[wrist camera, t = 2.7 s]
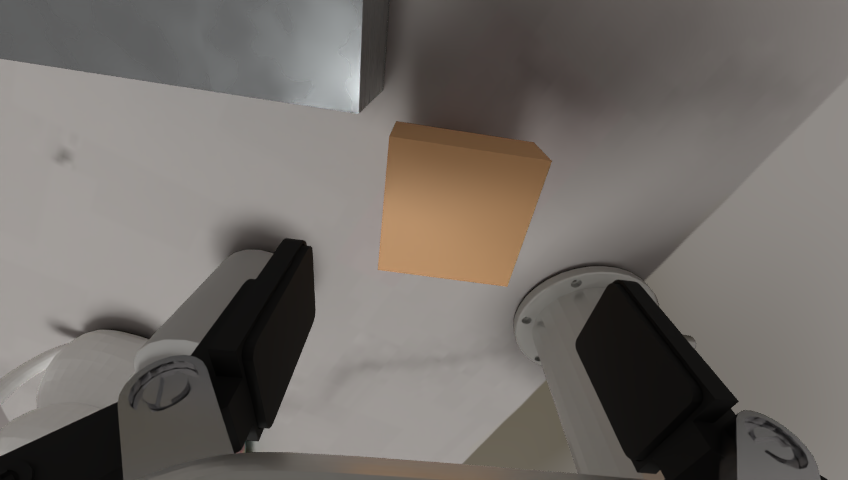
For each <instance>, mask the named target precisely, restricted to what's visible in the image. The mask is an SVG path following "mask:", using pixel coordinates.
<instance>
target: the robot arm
mask: <svg viewBox="0 0 848 480" xmlns="http://www.w3.org/2000/svg"><path fill="white" fill-rule="evenodd" d="M314 318H315V293H314V272H313V252H312V247H311V246H307V245H306V242H305V241H303V240H295V239H287V238H286V239H284V240H283V241H282V242H281V244H280V245H279V247H278V248H277V250H276V251H275V252H274V254H273V255H272V257H271V258H270V260H269V261H268V262H267V264H266V265H265V267H264V268H263V270H262V271H261V272H260V274H259V275H258V277H257V278H256V279H248V280H247V281H246V282H245V283H244V284H243V285H242V286H241V288H240V289H239V290H238V292H237V293H236V294H235V296H234V297H233V299H232V300H231V301H230V303H229V304H228V305H227V307H226V308H225V309H224V311H223V312H222V313H221V315H220V316H219V317H218V319H217V320H216V322H215V323H214V324H213V326H212V327H211V328H210V330H209V331H208V332H207V334H206V335H205V336H204V338H203V339H202V340H201V342H200V343H199V345H198V346H197V347H196V349H195V350H194V351H193V353H192V354H191V355H190V356H188V355H177V356H170V357H167V358H163V359H160V360H158V361H156V362H153V363H151V364H149V365H147V366H146V367H144V368H143V369H141V370H140V371H138V372H137V373H136V374H134V375H133V377H132V378H131V379H130V380H129V381H128V382H127V383H126V384H125V385H124V387H123V389H122V391H121V392H120V394H119V399H118V402H116V403H114V404H112V405H110V406H107V407H105V408H103V409H101V410H99V411H97V412H94V413H92V414H90V415H88V416H86V417H84V418H82V419H79V420H77V421H75V422H73V423H71V424H69V425H66V426H64V427H62V428H60V429H58V430H56V431H53V432H51V433H49V434H47V435H45V436H43V437H41V438H38V439H36V440H34V441H32V442H30V443H28V444H25V445H23V446H21V447H19V448H17V449H15V450H13V451H10V452H8V453H6V454H4V455H2V456H0V480H827V479H826V478H824V477H822V476H821V475H819V470H818V466H817V463H816V461H815V459H814V456H813V455H812V454H811V452H810V451H809V450H808V448H807V447H806V446H805V445H804V444H803V443H802V442H801V441H800V440H799V439H798V437H797V436H795V435H794V434H793V433H792V432H790V431H789V430H788V429H787V428H786V427H784V426H783V425H781V424H779V423H778V422H776V421H775V420H773V419H771V418H769V417H767V416H765V415H763V414H761V413H758V412H754V411H747V410H746V411H745V410H743V411H741V412H739V413H738V414H737V415H735V413H734V412H733V411H732V410H731V408H732V407H733V406H734V405H735V404H736V403H737V402H738V400H737V399H736V398H735V397H734V395H733V394H732V393H731V392H730V391H729V389H728V388H727V387H726V386H725V385H724V384H723V383H722V381H721V380H720V379H719V378H718V376H717V375H716V374H715V373H714V372H713V370H712V369H711V368H710V367H709V366H708V364H707V363H706V362H705V361H704V360H703V359H702V357H701V356H700V355H699V354H698V353H697V351H696V350H695V347H696V342H695V340H694V338H693V337H691V336H687V335H682V334H681V333H680V331H679V330H678V329H677V328H676V327H675V326H674V324H673V323H672V322H671V321H670V320H669V318H668V317H667V316H666V315H665V314H664V312H663V311H662V310H661V309H660V308H659V303H658V301H657V298H656V295H655V294H654V293H653V291H652V290H651V289H650V287H649V286H648V285H647V284H646V283H645V282H644V281H643V280H642V279H641V278H640V277H638V276H636V275H634V274H633V273H631V272H629V271H626V270H623V269H620V268H615V267H607V266H589V267H583V268H577V269H573V270H570V271H567V272H563V273H560V274H558V275H556V276H554V277H552V278H550V279H548V280H546V281H545V282H543V283H542V284H540V285H539V286H537V287H536V288H535V289H533V290H532V291H531V292H530V293H529V294H528V295H527V296H526V297H525V299H524V300H523V301H522V303H521V304H520V305H519V308H518V310H517V312H516V314H515V318H514V323H513V327H514V335H515V338H516V342H517V345H518V346H519V348H520V350H521V352H522V353H523V354H524V355H525V356H526V357H527V358H528V359H530V360H531V361H532V362H534V363H536V364H538V365H540V366H542V367H543V370H544V373H545V376H546V379H547V382H548V385H549V388H550V391H551V394H552V397H553V400H554V403H555V406H556V409H557V412H558V415H559V418H560V421H561V424H562V427H563V430H564V433H565V436H566V439H567V442H568V445H569V448H570V451H571V454H572V457H573V460H574V463H575V466H576V469H577V472H578V474H576V473H564V472H551V471H540V470H526V469H515V468H502V467H490V466H478V465H465V464H452V463H439V462H426V461H413V460H400V459H386V458H373V457H360V456H343V455H325V454H308V453H290V452H249V453H238V452H239V451H241V450H242V448H243V446H244V444H245V441H246V440H248V441H259V439H260V437H261V434H262V432H263V429H264V428H270V427H271V426H272V424H273V422H274V420H275V417H276V415H277V412H278V410H279V407H280V405H281V402H282V400H283V397H284V395H285V392H286V390H287V387H288V385H289V382H290V380H291V377H292V374H293V372H294V369H295V367H296V364H297V362H298V359H299V357H300V354H301V352H302V349H303V347H304V344H305V342H306V339H307V337H308V334H309V332H310V329H311V327H312V324H313V321H314ZM236 453H237V454H236Z"/></svg>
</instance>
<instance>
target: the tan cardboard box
mask: <svg viewBox="0 0 848 480" xmlns="http://www.w3.org/2000/svg"><path fill="white" fill-rule="evenodd" d="M551 162H552V161H551V160H550V159H549V158H548V157H547V155H546V154H545V153H544V152H543V151H542V150H541V149H540V148H539V147H538V146H537V145H536V144H535V143H534V142H528V141H521V140H515V139H508V138H502V137H495V136H489V135H482V134H476V133H469V132H463V131H456V130H450V129H443V128H437V127H430V126H424V125H418V124H411V123H405V122H398V121H396V123H395V125H394V128H393V130H392V132H391V134H390V136H389V147H388V158H387V170H386V181H385V193H384V205H383V216H382V228H381V240H380V251H379V263H378V270H383V271H391V272H399V273H406V274H414V275H422V276H429V277H437V278H445V279H452V280H460V281H468V282H475V283H483V284H491V285H499V286H506V287H507V286H508V283H509V280H510V277H511V275H512V272H513V269H514V266H515V263H516V260H517V258H518V255H519V252H520V249H521V246H522V244H523V241H524V238H525V235H526V232H527V230H528V227H529V224H530V221H531V218H532V216H533V213H534V210H535V207H536V204H537V202H538V199H539V196H540V193H541V190H542V187H543V185H544V182H545V179H546V176H547V173H548V171H549V168H550V165H551Z"/></svg>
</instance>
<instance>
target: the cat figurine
mask: <svg viewBox="0 0 848 480" xmlns="http://www.w3.org/2000/svg"><path fill="white" fill-rule="evenodd" d="M148 340H149V339H147V338H143V337H140V336H137V335H133V334H129V333H126V332H121V331H116V330H96V331H92V332H88V333H85V334H83V335H81V336H79V337H77V338H76V339H74V340H73V341H72V342H70V343H67V344H64V345H60V346H58V347H55V348H53V349H50V350H48V351H46V352H44V353H42V354H40V355H38V356H36V357H34V358H32V359H31V360H29V361H27V362H25V363H23V364H22V365H20V366H19V367H17V368H16V369H14V370H12V371H11V372H9V373H8V374H7V375H5V376H4V377H3V378H1V379H0V406H1V405H2V404H3V403H4V402H5V400H6V399H7V398H8V397H9V396H10V395H11V394H12V393H14V392H15V391H16V390H17V389H18V388H19V387H20V386H22V385H23V384H24V383H26V382H27V381H28V380H30V379H31V378H33V377H34V376H36V375H37V374H39V373H40V372H42V371H44V370H45V369H46V371H45V373H44V375H43V377H42V380H41V382H40V385H39V387H38V392H37V397H36V402H37V409H35V410H32V411H29V412H27V413H25V414H23V415H21V416H19V417H17V418H15V419H13V420H12V421H11V422H9V423H8V424H7V425H6V426H4V427H3V428H1V429H0V456H2V455H4V454H6V453H8V452H10V451H13V450H15V449H17V448H19V447H21V446H23V445H25V444H28V443H30V442H32V441H34V440H36V439H38V438H41V437H43V436H45V435H47V434H49V433H51V432H53V431H56V430H58V429H60V428H62V427H64V426H66V425H69V424H71V423H73V422H75V421H77V420H79V419H82V418H84V417H86V416H88V415H90V414H92V413H94V412H97V411H99V410H101V409H103V408H105V407H107V406H110V405H112V404H114V403H116V402H118V399H119V394H120V392H121V391H122V389H123V387H124V385H125V384H126V383H127V382H128V380H129V377H130V376H131V375H133V374H134V373H135V367H134V360H135V357H136V355H137V352H138V350H139V349H140V348H141V347H142V346H143V345H144V344H145V343H146V342H147V341H148Z"/></svg>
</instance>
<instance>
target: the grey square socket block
mask: <svg viewBox="0 0 848 480" xmlns="http://www.w3.org/2000/svg"><path fill="white" fill-rule="evenodd" d="M388 14H389V0H0V59H6V60H13V61H19V62H26V63H32V64H39V65H45V66H52V67H58V68H64V69H71V70H77V71H84V72H90V73H97V74H103V75H110V76H116V77H123V78H129V79H136V80H142V81H149V82H155V83H162V84H168V85H175V86H181V87H188V88H194V89H201V90H207V91H214V92H220V93H226V94H233V95H239V96H246V97H252V98H259V99H265V100H272V101H278V102H285V103H291V104H298V105H304V106H311V107H317V108H324V109H330V110H337V111H343V112H350V113H356V114H359V113H360V112H361V111H362V110H363V109H364V108H365V107H366V106H367V105H368V104H369V103H370V102H371V101H372V100H373V99H374V98H375V97H376V96H378V95H379V94H380V93H381V92H382V91H383V85H384V70H385V56H386V42H387V28H388Z"/></svg>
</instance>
